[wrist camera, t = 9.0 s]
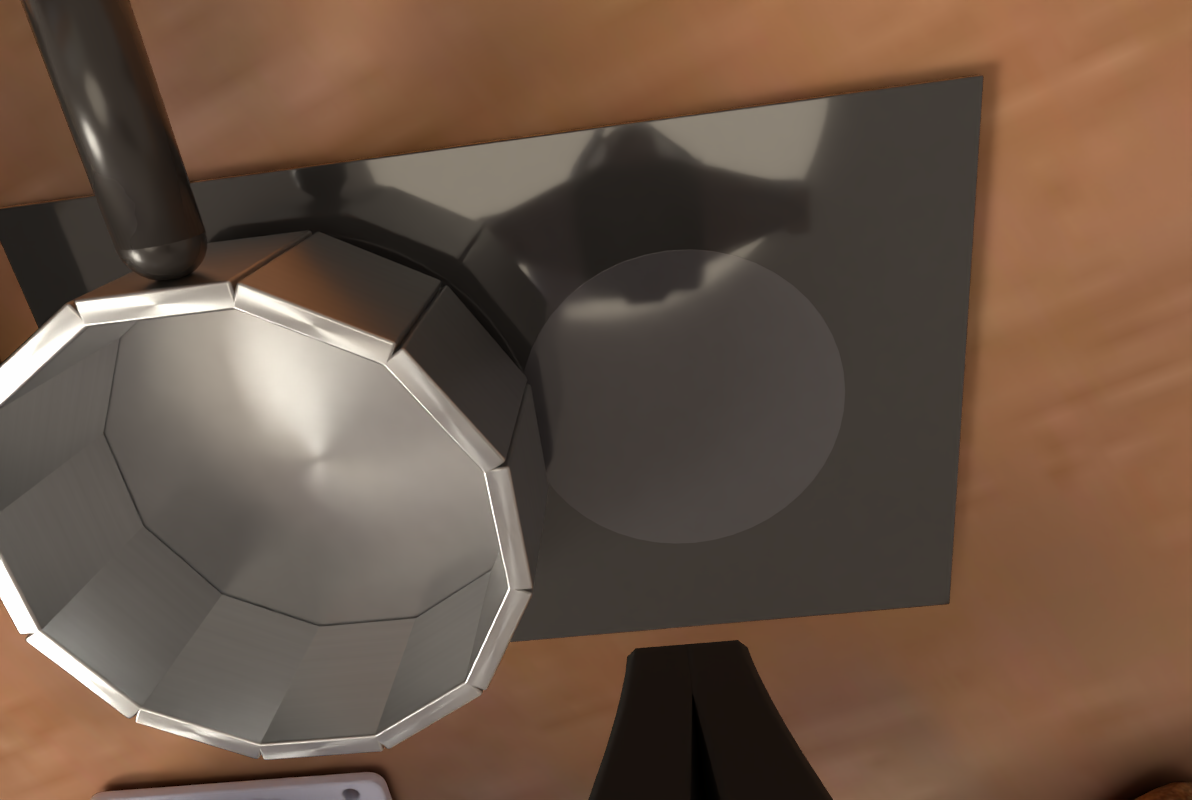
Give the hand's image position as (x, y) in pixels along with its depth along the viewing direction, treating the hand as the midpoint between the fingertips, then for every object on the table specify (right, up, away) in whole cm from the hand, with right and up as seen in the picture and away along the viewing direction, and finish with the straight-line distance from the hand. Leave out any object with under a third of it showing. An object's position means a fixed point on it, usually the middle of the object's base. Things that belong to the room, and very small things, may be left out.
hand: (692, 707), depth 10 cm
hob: (-3, +3, +10) cm, 11 cm away
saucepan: (-8, +5, +8) cm, 13 cm away
